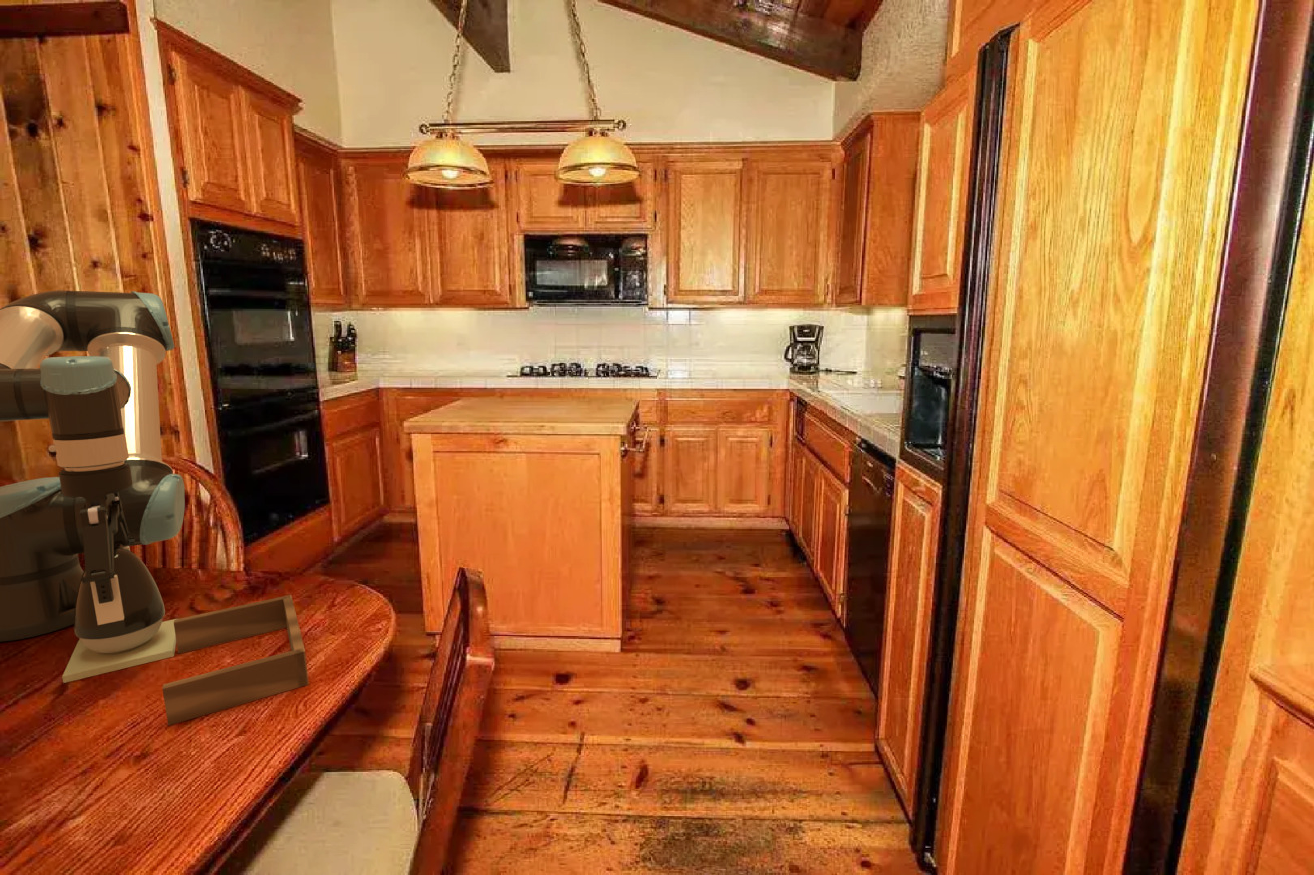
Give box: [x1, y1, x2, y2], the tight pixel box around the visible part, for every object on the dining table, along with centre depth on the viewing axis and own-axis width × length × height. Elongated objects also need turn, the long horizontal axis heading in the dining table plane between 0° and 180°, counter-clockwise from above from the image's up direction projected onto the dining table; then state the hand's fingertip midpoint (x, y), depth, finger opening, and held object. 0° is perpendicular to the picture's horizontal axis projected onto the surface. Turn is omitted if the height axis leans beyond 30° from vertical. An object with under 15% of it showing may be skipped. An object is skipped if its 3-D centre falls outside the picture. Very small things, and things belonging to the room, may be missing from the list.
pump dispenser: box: [73, 544, 166, 653], centre depth 90 cm, size 10×10×15 cm
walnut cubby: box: [162, 594, 310, 726], centre depth 87 cm, size 21×15×5 cm
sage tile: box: [61, 618, 177, 684], centre depth 91 cm, size 12×12×1 cm
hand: (118, 603), depth 90 cm, fingers open, 13 cm apart
